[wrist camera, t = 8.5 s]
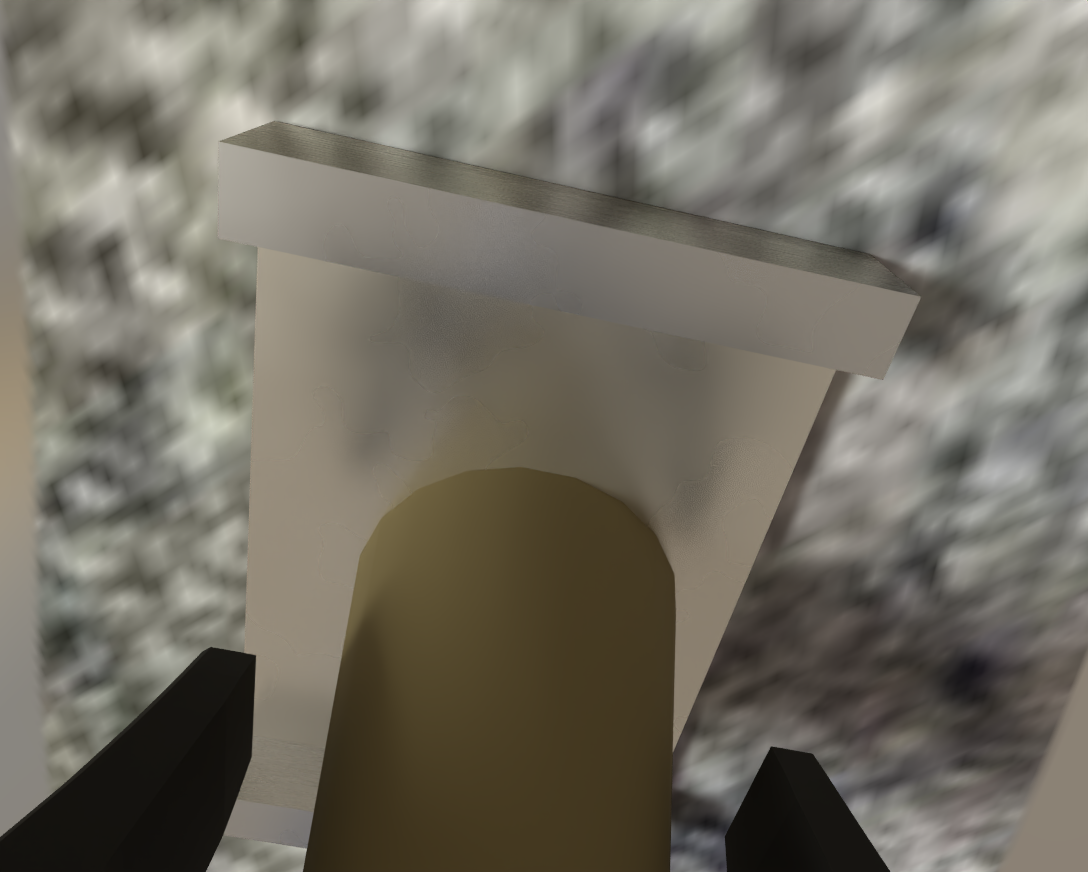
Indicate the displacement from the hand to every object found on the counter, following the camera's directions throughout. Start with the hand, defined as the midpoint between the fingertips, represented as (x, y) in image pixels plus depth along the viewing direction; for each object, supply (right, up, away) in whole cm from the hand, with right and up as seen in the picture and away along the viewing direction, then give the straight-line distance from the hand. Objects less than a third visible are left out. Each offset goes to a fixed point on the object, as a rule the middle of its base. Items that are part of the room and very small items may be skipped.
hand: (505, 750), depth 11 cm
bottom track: (0, +2, +4) cm, 4 cm away
